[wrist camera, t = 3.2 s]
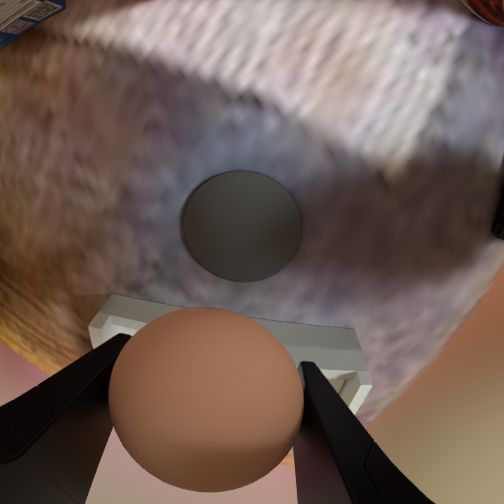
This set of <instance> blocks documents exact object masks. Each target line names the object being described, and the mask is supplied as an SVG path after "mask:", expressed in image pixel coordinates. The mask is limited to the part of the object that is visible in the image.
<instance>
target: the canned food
mask: <svg viewBox="0 0 504 504" xmlns="http://www.w3.org/2000/svg"><path fill="white" fill-rule="evenodd" d="M461 1H462V3H463V4H464V5H465V6H467V7H468V8H469V9H470V10H471V11H472V12H473V13H474V14H475V15H477V16H478V17H479V18H481V19H482V20H483V21H485V22H487V23H489V24H491V25H493V26H496V27H501V28H504V0H461Z"/></svg>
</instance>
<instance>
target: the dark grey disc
mask: <svg viewBox="0 0 504 504" xmlns="http://www.w3.org/2000/svg"><path fill="white" fill-rule="evenodd" d="M301 232H302V225H301V217H300V214H299V210H298V208H297V205H296V203H295V201H294V199H293V198H292V196H291V195H290V194H289V192H288V191H287V190H286V189H285V188H284V187H283V186H282V185H281V184H280V183H278V182H277V181H275V180H274V179H272V178H270V177H268V176H266V175H264V174H261V173H258V172H253V171H244V170H240V171H231V172H226V173H223V174H220V175H217V176H215V177H213V178H211V179H210V180H208V181H207V182H206V183H204V184H203V185H202V186H201V187H200V188H199V189H198V190H197V191H196V193H195V194H194V195H193V197H192V198H191V200H190V202H189V204H188V206H187V209H186V212H185V217H184V233H185V238H186V242H187V245H188V247H189V249H190V251H191V253H192V254H193V256H194V257H195V259H196V260H197V261H198V262H199V263H200V264H201V265H202V266H203V267H204V268H205V269H207V270H208V271H209V272H211V273H213V274H214V275H216V276H218V277H221V278H223V279H226V280H230V281H235V282H252V281H258V280H262V279H265V278H267V277H270V276H272V275H274V274H275V273H277V272H278V271H280V270H281V269H283V268H284V267H285V266H286V265H287V264H288V263H289V261H290V260H291V259H292V257H293V256H294V254H295V253H296V250H297V248H298V246H299V242H300V239H301Z"/></svg>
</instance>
